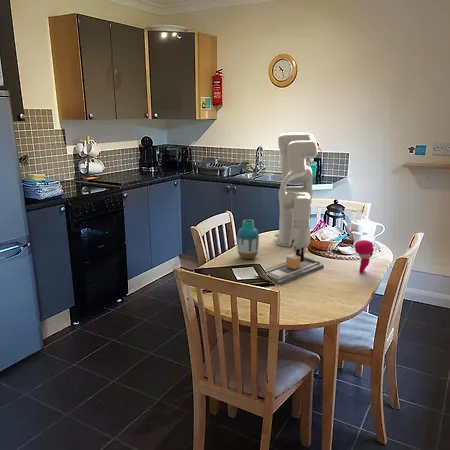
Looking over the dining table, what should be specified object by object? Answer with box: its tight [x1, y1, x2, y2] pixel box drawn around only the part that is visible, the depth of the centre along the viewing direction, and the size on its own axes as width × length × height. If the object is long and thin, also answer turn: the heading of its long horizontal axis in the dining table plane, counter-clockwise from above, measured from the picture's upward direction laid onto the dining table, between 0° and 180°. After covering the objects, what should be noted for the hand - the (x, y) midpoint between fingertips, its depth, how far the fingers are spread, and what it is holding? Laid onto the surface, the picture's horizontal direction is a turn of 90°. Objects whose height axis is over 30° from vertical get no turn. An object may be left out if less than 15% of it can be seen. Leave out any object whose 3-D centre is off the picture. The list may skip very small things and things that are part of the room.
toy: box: [354, 239, 374, 274], centre depth 194 cm, size 8×8×15 cm
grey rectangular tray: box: [263, 255, 325, 286], centre depth 197 cm, size 31×14×3 cm, turn 131°
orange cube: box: [285, 253, 301, 269], centre depth 197 cm, size 4×5×5 cm
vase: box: [236, 219, 260, 260], centre depth 212 cm, size 11×11×19 cm
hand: (299, 261), depth 200 cm, fingers closed
